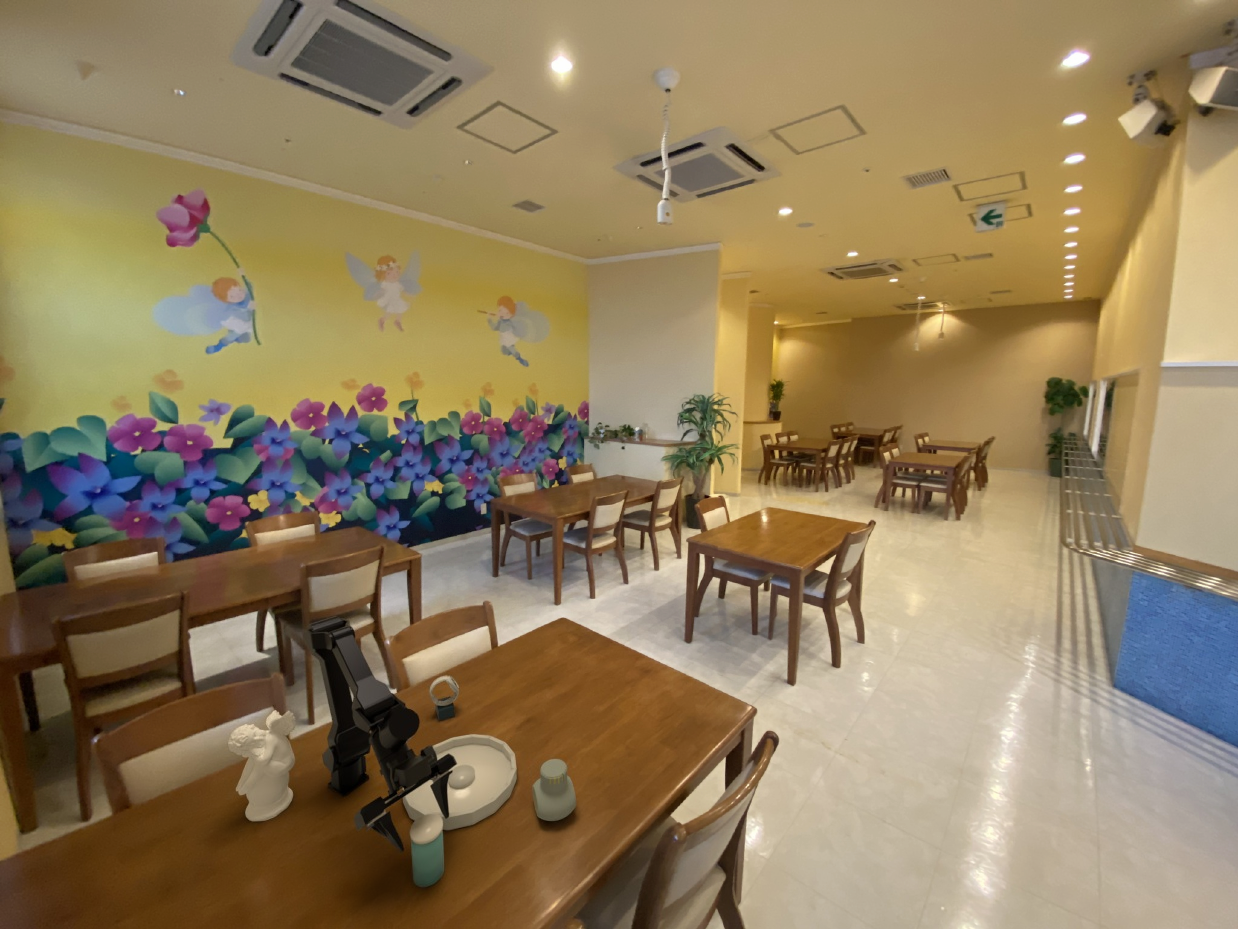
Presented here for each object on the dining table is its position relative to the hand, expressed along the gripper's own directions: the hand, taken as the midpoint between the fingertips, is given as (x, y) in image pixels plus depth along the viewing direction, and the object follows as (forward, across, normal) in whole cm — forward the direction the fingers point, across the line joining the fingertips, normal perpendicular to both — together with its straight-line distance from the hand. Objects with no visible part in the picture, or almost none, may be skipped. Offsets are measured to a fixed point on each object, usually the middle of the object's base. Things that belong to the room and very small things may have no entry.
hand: (425, 833), depth 94 cm
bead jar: (+6, 0, +6) cm, 8 cm away
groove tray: (-4, +17, +16) cm, 23 cm away
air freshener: (+12, +26, 0) cm, 28 cm away
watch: (-22, +29, +33) cm, 49 cm away
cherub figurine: (-24, -12, +36) cm, 45 cm away
